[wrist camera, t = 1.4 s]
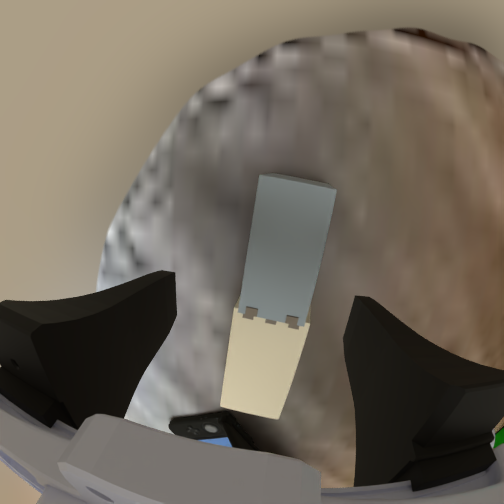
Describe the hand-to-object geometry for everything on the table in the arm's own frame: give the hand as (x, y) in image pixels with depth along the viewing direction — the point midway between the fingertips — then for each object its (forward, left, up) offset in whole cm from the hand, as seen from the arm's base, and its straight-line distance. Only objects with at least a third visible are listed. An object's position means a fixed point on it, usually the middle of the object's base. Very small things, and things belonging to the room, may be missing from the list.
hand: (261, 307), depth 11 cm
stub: (0, -1, -11) cm, 11 cm away
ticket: (0, +9, -11) cm, 14 cm away
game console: (-1, +27, -11) cm, 29 cm away
